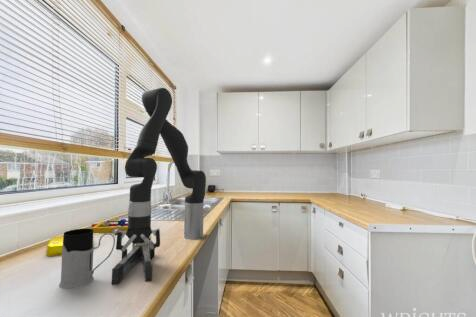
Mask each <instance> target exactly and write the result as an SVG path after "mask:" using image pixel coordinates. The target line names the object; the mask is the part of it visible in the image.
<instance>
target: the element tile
mask: <svg viewBox="0 0 476 317" xmlns="http://www.w3.org/2000/svg"><path fill="white" fill-rule="evenodd" d="M63 237H64V234H63V235H56V236H52V237H51V238H50V240H49V241H48V243H47V244H46V254H45V255H46V257H56V256H62V243H63Z"/></svg>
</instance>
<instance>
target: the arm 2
mask: <svg viewBox="0 0 476 317" xmlns="http://www.w3.org/2000/svg"><path fill="white" fill-rule="evenodd" d="M141 262H142V269H143V276H144V280H145V282H151V281H153V263H152V260H151V259H150V255H149V248H148V247H147V246H142V258H141Z"/></svg>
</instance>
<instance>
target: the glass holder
mask: <svg viewBox="0 0 476 317" xmlns="http://www.w3.org/2000/svg"><path fill="white" fill-rule="evenodd" d="M63 235H64V237H63V243H62V255H61V267H60V268H61V270H60V271H61V273H60V282H59V284H58V287H59V288H60V289H61V290H62V289H63V290H71V289H77V288H81V287H84V286H87V285H89V284H90V283H92V282H93V281H94V278H95V277H94V273H95V270H97V269H98V268H99V267H100V266H101V265H102V264H103V263H104V262H106V261H107V260H108V258H110V257H111V255H112V253H113V251H114V248H115V246H116V245H115V244H116V237H115V235H114V234H113V233H103V234H102V235H101V236H100V237H99V239H98V245H97V246H95V247H94V234H93V229H91V228H78V229H77V228H75V229H70V230H67V231H65V232H64V233H63ZM106 235H108V236H111V237H112V238H113V243H112V244H113V245H112V248H111V250H110V252H109V253H108V256H106V258H105V259H103V260H102V261H101V262H100V263H99V264H97V265H96V266H95V267H94V268H93V264H94V250H95V249H98V248H100V246H101V241H102V238H103V237H105V236H106Z"/></svg>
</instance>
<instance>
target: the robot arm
mask: <svg viewBox="0 0 476 317" xmlns="http://www.w3.org/2000/svg"><path fill="white" fill-rule="evenodd" d="M141 102H142V105H143V108H144V109H145V111H146V113H147V115H148V116H149V119H148V120H147V121H146V123H145V124H144V125H143V127H142V128H141V130H140V133H139V134H138V138H137V142H136V146H135V147H134V149H133V150H132V152H131V153H130V155H129V156H128V157H127V160H125V164H124V172H125V174H126V175H127V176H128V177H130V178H143V180H142V181H141V182H139V183H135V184H132V185H131V186H130V187H129V204H128V207H127V208H128V211H127V216H128V217H127V221H128V222H127V223H128V230H127V231H122V230H120V231H119V232H118V233H116V235H117V236H116V242H115V244H116V245H115V250H117V251H118V250H119V251H121V260H122V259H123V258H124V257H125V256H126V255H127V254H128V247H129V246H130V245H131V244H133V243H134V244H135V245H136V243H144V242H146V244H147V245H149V247H150V248H151V249H150V259H151V261H152V260H153V259H154V258H155V254H156V253H155V251H156V248H159V247H160V245H161V229H160V228H156V229H152V227H151V226H152V201H151V200H152V188H153V183H154V180H155V177H156V173H157V169H158V164H157V162H156V160H155V159H154V158H152V157H150V156H153V155H154V154H155V153H156V150H157V146H158V141H159V139H160V137H161V139H162V141H163V142H164V145H165V147H166V149H167V152H168V153H169V155H170V157H171V159H172V160H173V163H174V165H175V167H176V169H177V173H178V175H179V178H180V180H181V182H182V184H183V186H184V187H185V188H187V189H192V191H191V193H190V194H188V195H186V196H185V198H184V220H183V221H184V223H183V224H184V226H183V227H184V228H183V238H184V239H186V240H199V239H203V238H204V201H205V196H206V184H207V177H206V174H205V172H204V171H203V170H195V169H194V170H192V169H191V167H190V165H189V162H188V155H189V146H188V143H187V141H186V138H185V136H184V134H183V133H182V131H180V129H178V128H177V127H176V126H174V124H172V123H171V122H169V121H168V120H167V117H168V115H169V113H170V111H171V108H172V105H173V97H172V94H171V92H170V91H169V90H168V89H167V88H165V87H159V88H155V89H150V90H147V91H145V92H142V95H141ZM152 234H153V236H154V237H155V242H154V241H153V240H152V238H151V239H150V237H149V236H152ZM125 235H126V237H127V238H128V239H127V241H126V243H124V245H123V244H122V242H123V238H124V237H125Z"/></svg>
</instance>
